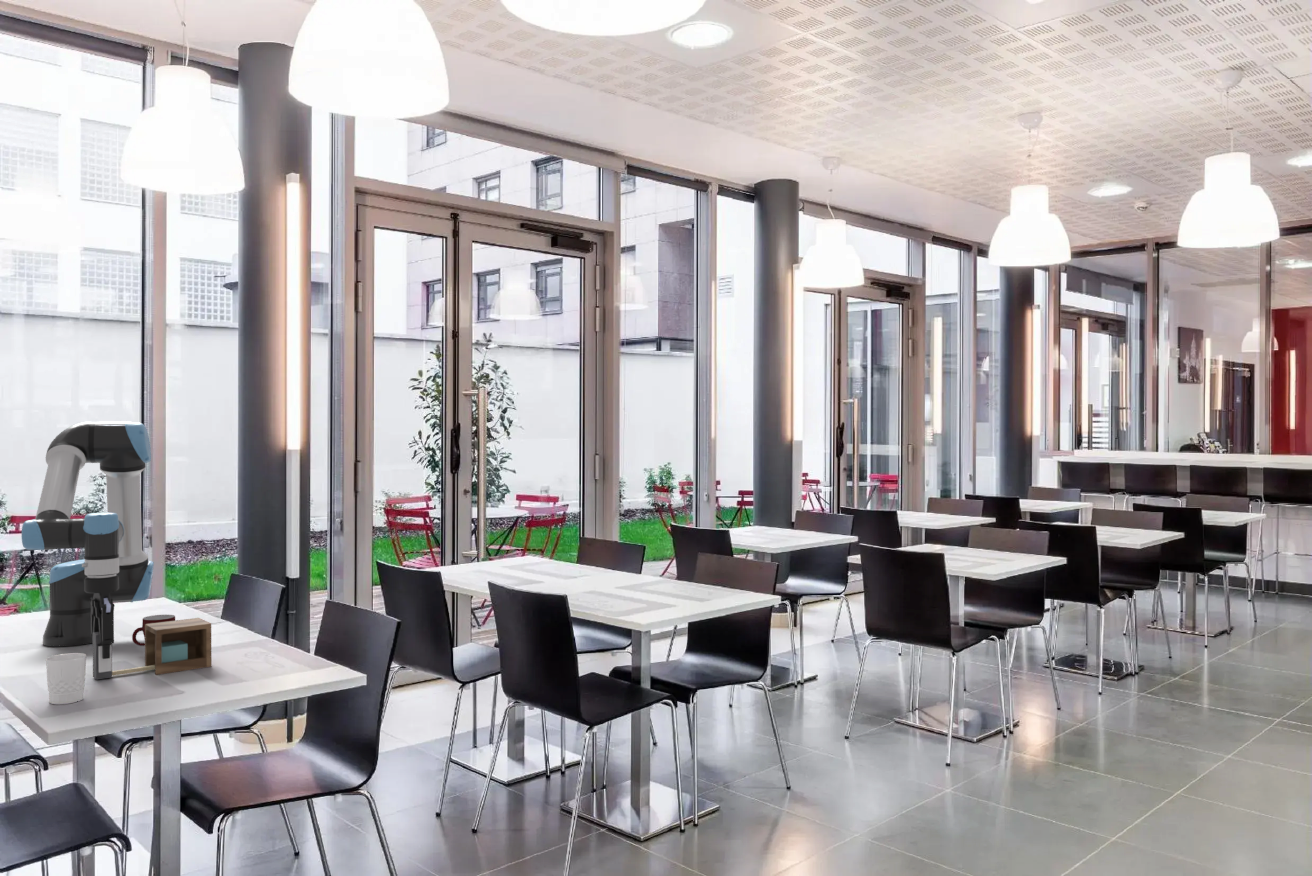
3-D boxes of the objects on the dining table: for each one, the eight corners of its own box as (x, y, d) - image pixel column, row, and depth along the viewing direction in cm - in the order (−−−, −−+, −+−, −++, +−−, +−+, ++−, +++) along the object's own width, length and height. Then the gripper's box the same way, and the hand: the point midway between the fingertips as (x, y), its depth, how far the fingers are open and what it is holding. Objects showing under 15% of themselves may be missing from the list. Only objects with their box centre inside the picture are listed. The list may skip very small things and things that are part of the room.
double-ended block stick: (91, 676, 247) (91, 631, 247) (180, 662, 261) (180, 621, 261) (97, 680, 243) (97, 635, 243) (187, 667, 257) (187, 624, 256)
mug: (132, 659, 266) (132, 622, 266) (132, 653, 274) (131, 617, 273) (176, 655, 272) (176, 618, 271) (174, 649, 279) (174, 613, 279)
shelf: (145, 667, 257) (144, 624, 257) (198, 659, 266) (198, 617, 266) (156, 674, 250) (156, 630, 250) (211, 666, 258) (211, 623, 258)
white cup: (57, 696, 230) (57, 653, 230) (92, 695, 231) (92, 652, 230) (39, 706, 222) (38, 661, 222) (76, 705, 223) (75, 660, 223)
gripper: (76, 573, 250) (77, 665, 251) (93, 581, 237) (93, 678, 237) (109, 570, 255) (110, 660, 255) (128, 578, 242) (128, 673, 242)
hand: (102, 669), depth 246 cm, fingers open, 5 cm apart
